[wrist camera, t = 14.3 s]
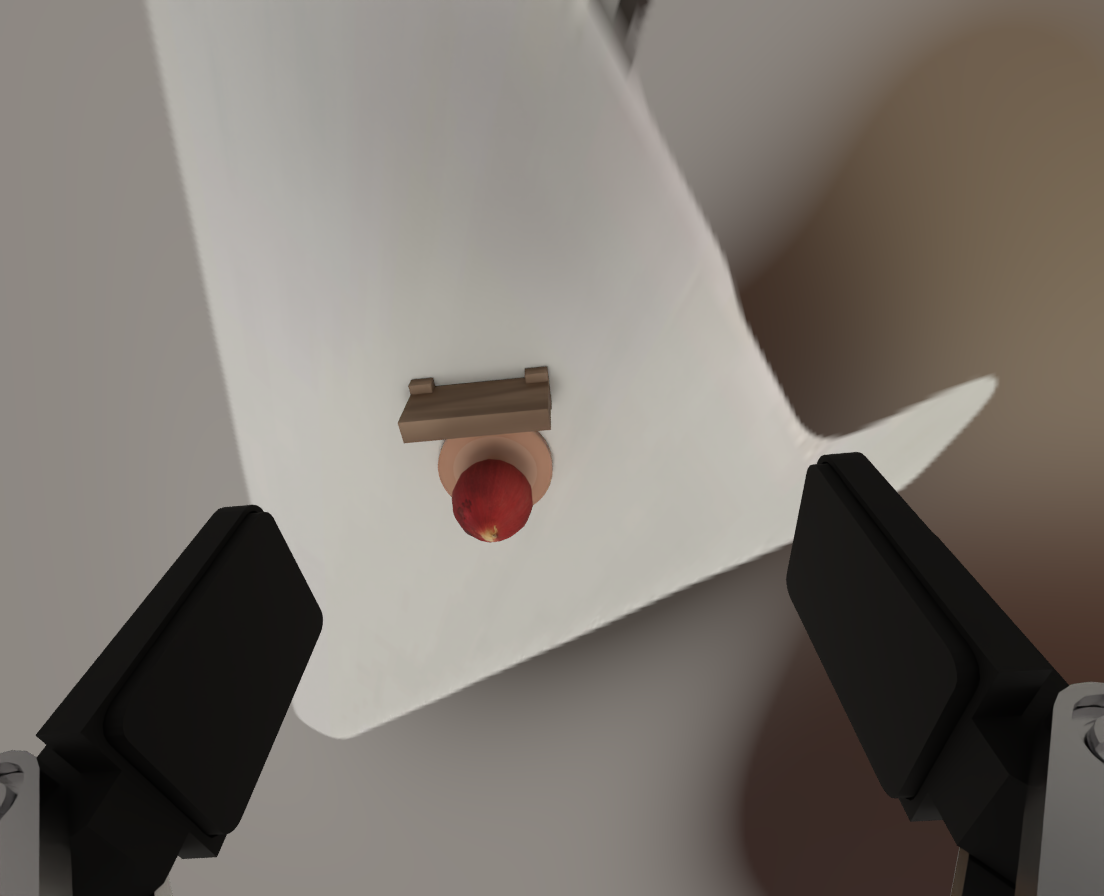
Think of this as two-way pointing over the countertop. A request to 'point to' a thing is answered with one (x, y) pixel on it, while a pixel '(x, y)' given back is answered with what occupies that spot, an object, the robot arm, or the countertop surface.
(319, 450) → the countertop surface
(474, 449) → the plate
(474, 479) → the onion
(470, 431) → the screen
